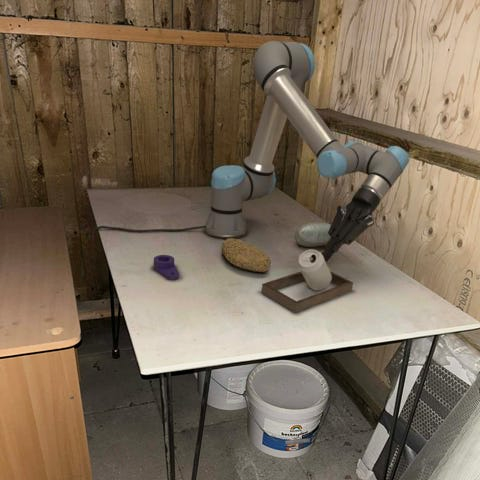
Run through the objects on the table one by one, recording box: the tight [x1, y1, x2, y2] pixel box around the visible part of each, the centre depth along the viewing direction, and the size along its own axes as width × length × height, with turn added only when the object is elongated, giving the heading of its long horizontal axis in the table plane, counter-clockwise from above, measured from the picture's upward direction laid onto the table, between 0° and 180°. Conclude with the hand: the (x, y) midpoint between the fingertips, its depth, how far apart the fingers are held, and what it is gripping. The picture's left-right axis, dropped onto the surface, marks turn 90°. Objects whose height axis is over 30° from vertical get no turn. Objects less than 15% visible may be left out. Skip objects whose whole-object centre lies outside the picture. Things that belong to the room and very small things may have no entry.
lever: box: [153, 254, 180, 281], centre depth 146 cm, size 12×6×3 cm, turn 29°
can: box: [297, 248, 332, 291], centre depth 138 cm, size 8×8×12 cm
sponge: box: [221, 238, 272, 273], centre depth 154 cm, size 13×8×20 cm
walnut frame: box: [261, 270, 354, 314], centre depth 141 cm, size 24×14×3 cm, turn 129°
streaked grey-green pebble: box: [295, 221, 331, 248], centre depth 172 cm, size 14×10×10 cm
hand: (323, 258), depth 139 cm, fingers closed
